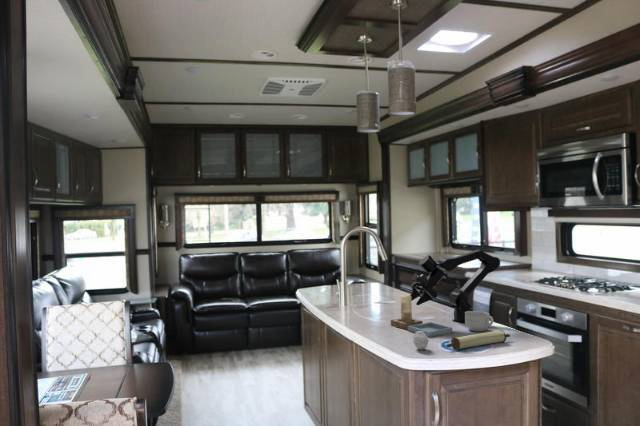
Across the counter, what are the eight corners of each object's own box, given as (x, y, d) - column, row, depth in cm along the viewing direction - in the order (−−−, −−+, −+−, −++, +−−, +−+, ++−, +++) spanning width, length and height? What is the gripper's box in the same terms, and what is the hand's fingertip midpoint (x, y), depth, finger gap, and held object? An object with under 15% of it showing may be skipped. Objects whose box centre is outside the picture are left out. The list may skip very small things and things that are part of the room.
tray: (452, 332, 220) (452, 327, 220) (428, 337, 213) (428, 332, 213) (430, 326, 232) (430, 322, 232) (407, 330, 225) (407, 326, 225)
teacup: (460, 328, 227) (459, 311, 227) (479, 326, 231) (478, 309, 231) (480, 335, 214) (479, 317, 214) (500, 332, 218) (499, 314, 218)
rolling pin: (504, 339, 207) (504, 327, 207) (514, 342, 202) (514, 330, 202) (442, 349, 194) (442, 337, 194) (452, 353, 189) (451, 340, 189)
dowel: (414, 326, 234) (413, 296, 234) (405, 327, 231) (405, 297, 231) (407, 324, 238) (406, 295, 238) (399, 325, 236) (398, 296, 236)
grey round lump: (425, 346, 199) (424, 329, 199) (431, 351, 192) (431, 333, 192) (410, 347, 198) (410, 330, 198) (416, 352, 191) (416, 334, 191)
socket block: (422, 326, 233) (422, 321, 233) (405, 329, 227) (405, 324, 227) (408, 322, 242) (407, 317, 242) (390, 325, 237) (390, 319, 237)
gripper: (414, 265, 246) (393, 288, 243) (431, 269, 228) (409, 294, 225) (428, 280, 248) (408, 303, 245) (446, 286, 229) (425, 311, 227)
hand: (412, 303), depth 235 cm, fingers open, 9 cm apart
